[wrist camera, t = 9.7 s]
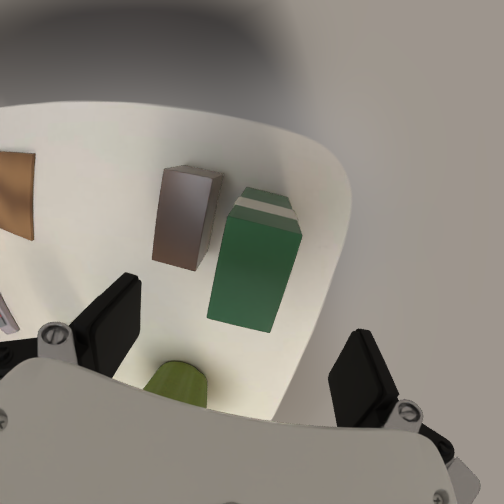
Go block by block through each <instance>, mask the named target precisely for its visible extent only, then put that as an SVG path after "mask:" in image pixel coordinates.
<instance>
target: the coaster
mask: <svg viewBox="0 0 504 504" xmlns="http://www.w3.org/2000/svg"><path fill="white" fill-rule="evenodd" d="M34 163H35V154H32V153H19V152H4V151H0V228H1V229H4V230H6V231H8V232H11V233H13V234H16V235H18V236H21V237H23V238H26V239H28V240H31V241H32V240H34V232H33V177H34Z"/></svg>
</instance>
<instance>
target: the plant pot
mask: <svg viewBox="0 0 504 504" xmlns="http://www.w3.org/2000/svg"><path fill="white" fill-rule="evenodd" d="M143 390H145V391H148V392H151V393H154V394H157V395H160V396H163V397H166V398H170V399H173V400H176V401H180V402H183V403H187V404H191V405H194V406H198V407H202V408H207V380H206V378H205V376H204V375H203V374H201V373H200V372H199V371H198V370H197V369H196V368H195V367H193V366H191V365H189V364H186V363H183V362H176V361H172V362H167V363H166V364H164V365H162V366H161V367H160V368H159V369H158V370H157V372H156V373H155V374H154V376H153V377H152V378H151V380H150V381H149V382H148V384H147V385H146V386H145V388H144V389H143Z"/></svg>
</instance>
